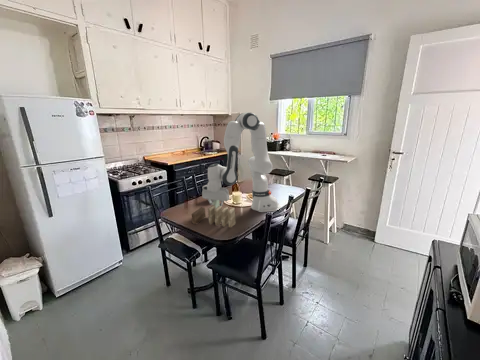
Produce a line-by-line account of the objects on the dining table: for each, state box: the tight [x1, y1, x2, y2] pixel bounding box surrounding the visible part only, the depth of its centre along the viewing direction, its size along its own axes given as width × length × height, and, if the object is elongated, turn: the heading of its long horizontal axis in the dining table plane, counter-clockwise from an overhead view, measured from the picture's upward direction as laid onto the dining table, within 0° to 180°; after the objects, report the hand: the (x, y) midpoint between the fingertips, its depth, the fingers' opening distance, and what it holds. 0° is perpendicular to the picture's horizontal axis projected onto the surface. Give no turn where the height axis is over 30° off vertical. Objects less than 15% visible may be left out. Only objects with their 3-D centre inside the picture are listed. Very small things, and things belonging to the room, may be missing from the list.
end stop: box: [191, 207, 206, 225], centre depth 160 cm, size 3×12×7 cm, turn 157°
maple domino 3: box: [221, 206, 229, 228], centre depth 151 cm, size 2×6×11 cm, turn 157°
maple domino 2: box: [214, 206, 223, 226], centre depth 153 cm, size 2×6×11 cm, turn 157°
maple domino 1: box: [207, 205, 215, 225], centre depth 155 cm, size 2×6×11 cm, turn 157°
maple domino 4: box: [228, 207, 236, 229], centre depth 149 cm, size 2×6×11 cm, turn 157°
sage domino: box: [212, 200, 220, 209], centre depth 167 cm, size 2×6×11 cm, turn 157°
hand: (216, 205), depth 166 cm, fingers open, 7 cm apart
